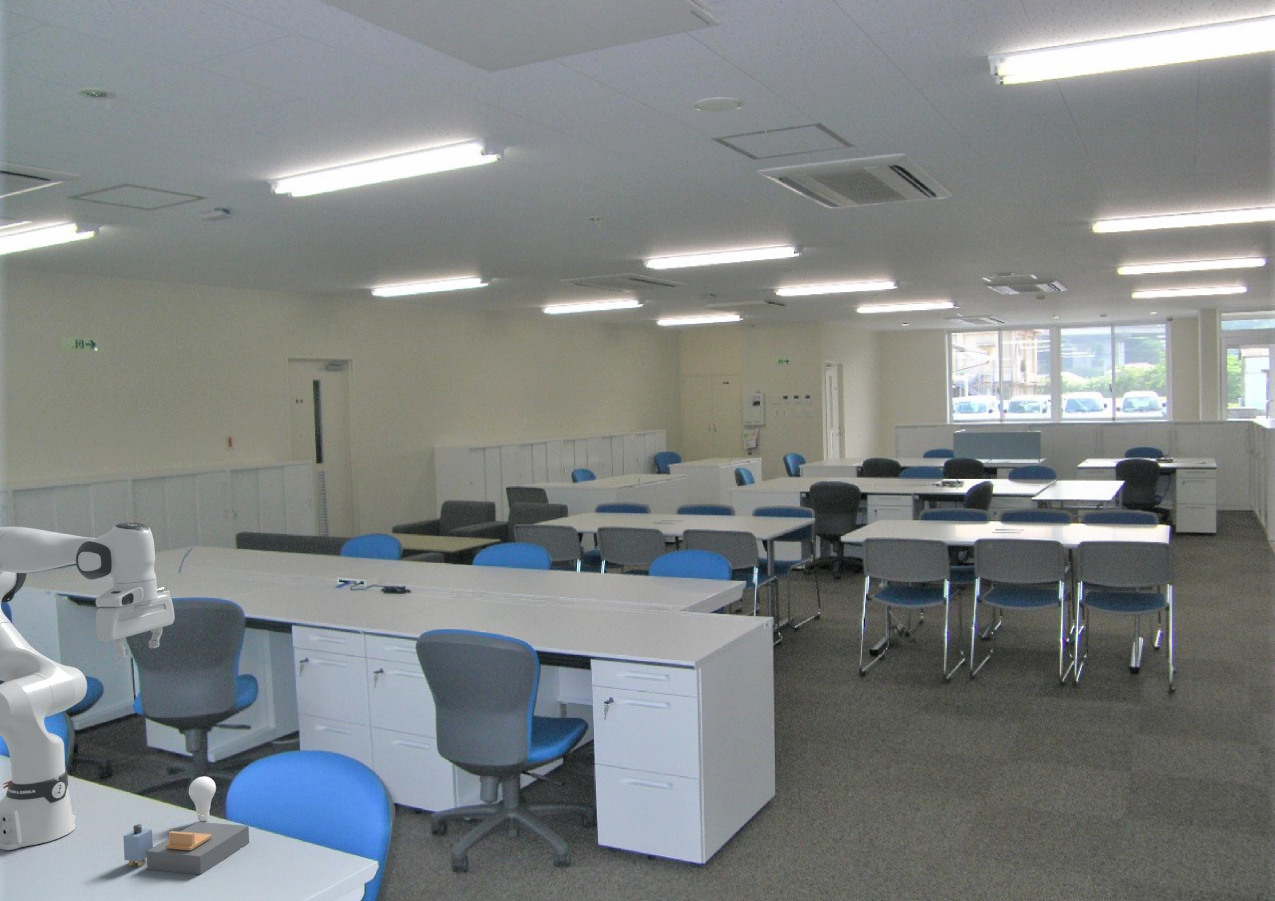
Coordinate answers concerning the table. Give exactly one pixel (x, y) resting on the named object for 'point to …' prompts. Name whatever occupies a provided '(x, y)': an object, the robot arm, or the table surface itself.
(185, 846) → the panel
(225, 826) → the socket block
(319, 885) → the table surface
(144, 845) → the plug
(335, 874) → the table surface
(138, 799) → the table surface
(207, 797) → the lightbulb
